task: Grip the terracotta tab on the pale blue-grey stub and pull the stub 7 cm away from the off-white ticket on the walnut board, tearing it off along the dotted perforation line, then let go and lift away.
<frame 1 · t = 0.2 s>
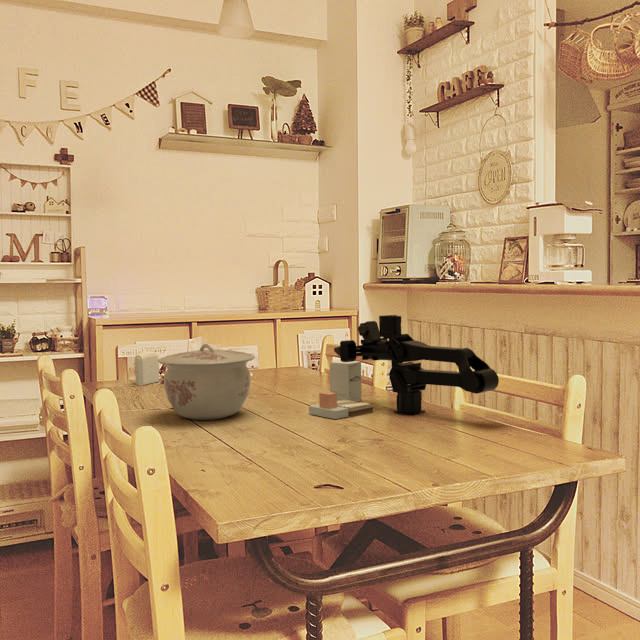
hand: (345, 348, 211), 17 cm above the table, tool horizontal, fingers open, 9 cm apart
stub: (328, 404, 192), point 3 cm above the table, slide at 0.0 cm
supplement box: (346, 402, 213), on the table
chamber pot: (209, 416, 197), on the table
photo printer: (147, 384, 260), on the table
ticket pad: (347, 411, 197), on the table
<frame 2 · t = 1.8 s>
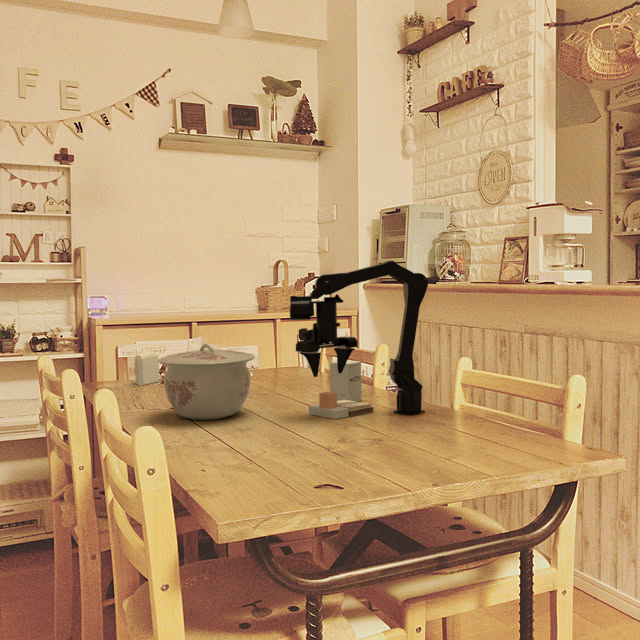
hand: (327, 375, 191), 12 cm above the table, tool pointing down, fingers open, 9 cm apart
nothing on the table moved.
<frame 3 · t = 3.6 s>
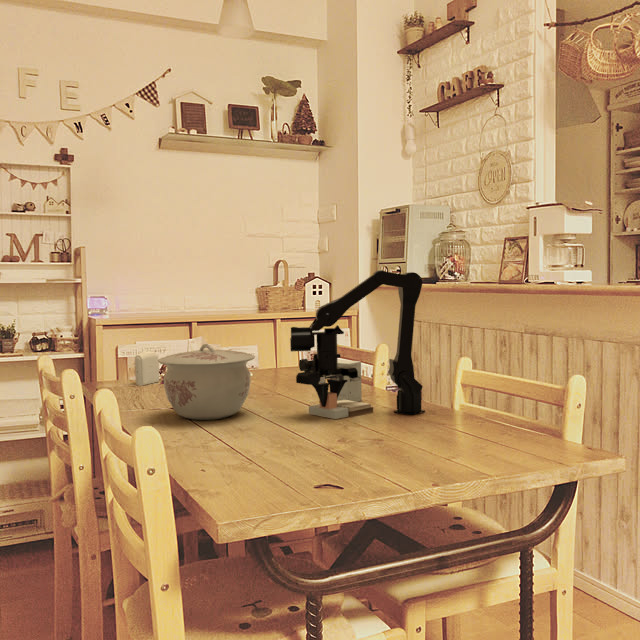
hand: (328, 405, 192), 3 cm above the table, tool pointing down, fingers closed on stub, 3 cm apart
stub: (328, 404, 192), point 3 cm above the table, slide at 0.0 cm, touching gripper
everything else where it was.
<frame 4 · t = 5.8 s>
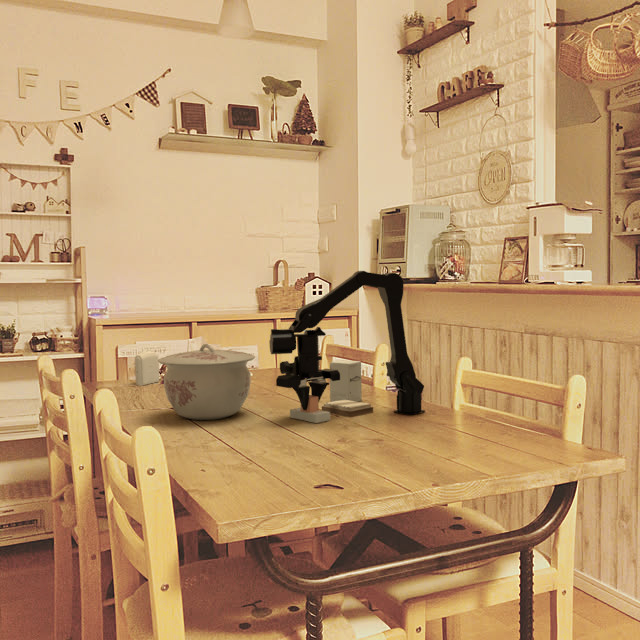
hand: (309, 409, 187), 3 cm above the table, tool pointing down, fingers closed on stub, 3 cm apart
stub: (309, 407, 187), point 3 cm above the table, slide at 6.9 cm, touching gripper
everything else where it was.
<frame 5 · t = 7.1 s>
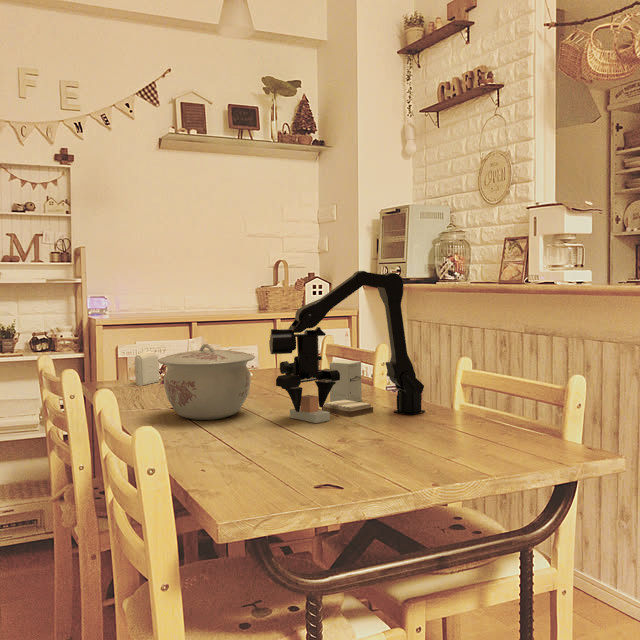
hand: (309, 409, 187), 3 cm above the table, tool pointing down, fingers open, 8 cm apart
stub: (309, 407, 187), point 3 cm above the table, slide at 6.9 cm
everything else where it was.
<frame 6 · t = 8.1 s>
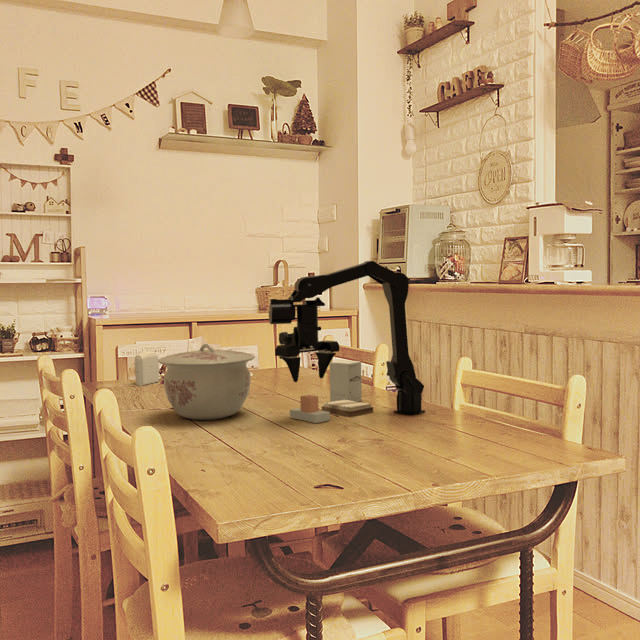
hand: (308, 380, 187), 11 cm above the table, tool pointing down, fingers open, 9 cm apart
nothing on the table moved.
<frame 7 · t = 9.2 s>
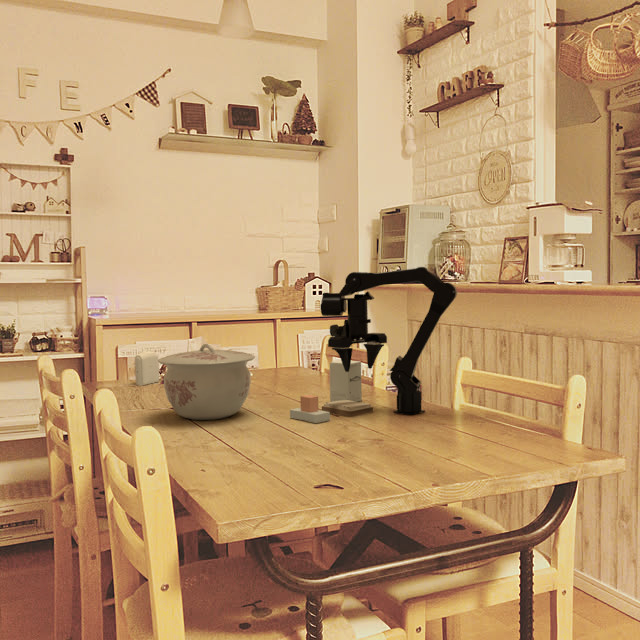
hand: (358, 370, 197), 12 cm above the table, tool pointing down, fingers open, 9 cm apart
nothing on the table moved.
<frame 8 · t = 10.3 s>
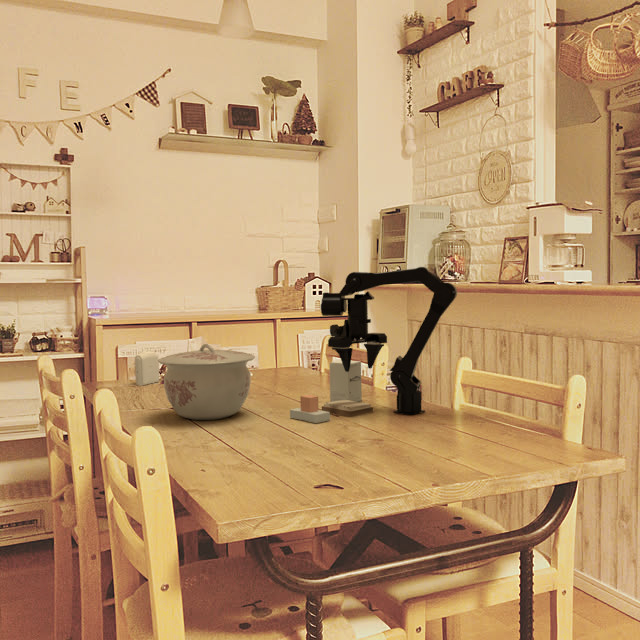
hand: (358, 370, 197), 12 cm above the table, tool pointing down, fingers open, 9 cm apart
nothing on the table moved.
at the end: stub slide at 6.9 cm; the gripper is holding nothing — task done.
